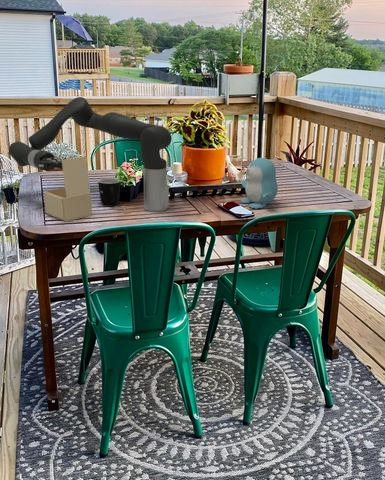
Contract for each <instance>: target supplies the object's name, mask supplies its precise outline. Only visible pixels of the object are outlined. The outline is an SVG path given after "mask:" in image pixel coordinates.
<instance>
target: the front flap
mask: <svg viewBox="0 0 385 480" xmlns="http://www.w3.org/2000/svg"><path fill="white" fill-rule="evenodd" d="M63 159H64V158H63ZM61 160H62V159H61ZM62 166H63V169H62V173H63V181H64V187H65V191H66V198H68V197H73V196H77V195H82V194H86V193H91V189H90V187H91V186H90V179H89V177H90V176H89V171H88V170H89V168H88V161H87V156H86V155H84V156H79V157H77V156H76V157H72V158H71V157H70V158H67V159H64V160H62Z"/></svg>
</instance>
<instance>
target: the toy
mask: <svg viewBox="0 0 385 480" xmlns="http://www.w3.org/2000/svg"><path fill="white" fill-rule="evenodd" d="M276 170H277V169H276V167H275V164H274V163H273V162H272V161H271V160H270V159H268V158H266V157H258V158H255V159H253V160H252V161H251V162H249V165H248V166H247V167H246V169H245V175H246V176H245V177H246V179H242V180H241V185H242V187H243V188H244V189H245V193H246V196H247V197H243V198H241V199H240V202H241V204H245V203H247V204H248V208H250V207H251V208H250V209H252V208H255V209H254V210H259V209H258V208H261V209H262V208H263V207H264V208H265V207H266V206H267V205H268V203H271V202H273V201H274V199H275V198H276V196H277V194H278V184H277V177H276V176H277V174H276V173H277V172H276Z"/></svg>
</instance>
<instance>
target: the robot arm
mask: <svg viewBox="0 0 385 480" xmlns="http://www.w3.org/2000/svg"><path fill="white" fill-rule="evenodd" d="M71 118H72V120H73V121H74V122H75V124H77V126H80V127H84V128H89V129H93V130H97V131H100V132H103V133H106V134H109V135H111V136H114V137H117V138H120V139H128V140H139V141H140V155H141V161H142V164H143V205H144V206H143V209H144V210H145V211H148V212H164V211H165V210H167V209H169V205H170V204H169V202H170V200H169V192H170V191H169V189H170V188H169V187H170V186H169V185H167V184H168V183H167V182H168V181H167V178H168V176H167V174H168V173H167V171H168V170H167V169H168V168H167V166H168V164H167V160H166V159H165V158H162V157H161V151H160V150H164V149H166V148H168V147H169V146H170V145H171V143H172V140H173V139H172V135H171V132H170V130H169V129H167V128H166V127H164V126H163V125H159V124H158V125H157V124H152V123H147V122H143V121H142V120H141V121H140V120H139V119H135V118H132V117H130V116H127V115H124V114H121V113H118V112H112V111H111V112H108V113H105V114H104V115H103V114H99V113H97V112H95V111H94V110H93V108H92V107H91V105H90V104H89V101H87V99H86V98H85V97H82V96H77V97H75V98H73V99H71V100H70V101H69V102H68V103H67V104H66V105H64V107H62V109H61V110H59V112H58V113H56V114H55V115H54V117H53V118H52V119H51V120H50V121H48V123H47V124H45V125H44V126H42V127H41V128H40V129H38V130H37V131H35V132H34V133H33V134H31V135H30V136H29V137H28V142H29V145H30V146H29V145H28V144H26V143H24V142H22V141H14V142H12V143H10V144H9V146H8V150H7V151H8V154H9V155H10V156H11V158H13V160H14V161H15V162H16V163H17V165H18V166H19V167H26V166H31V167H33V168H35V169H38V170H40V171H41V170H42V171H44V172H48V171H52V170H59V169H60V170H63V166H62V160H64V159H68V158H67V157H63V158H62V159H60V158H58V157H56V156H55V155H54V154H53V152H50V151H46V150H43V149H45V148H46V147H47V146H49V145H50V144H52V142H54V141H55V139H56V138H57V136H58V135H59V133H60V131H61V129H62V128H63V125H64V124H65V123H66V122H67V121H68V120H69V119H71Z"/></svg>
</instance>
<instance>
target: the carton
mask: <svg viewBox="0 0 385 480" xmlns="http://www.w3.org/2000/svg"><path fill="white" fill-rule="evenodd" d="M43 196H44V208H45V209H44V210H45V214H46V215H49V216H51V217H54V218H56V219H58V220H61V221H63V222H70V221H73V220H78V219H81V218H82V219H83V218H85V217H89V216H92V215H93V210H92V209H93V207H92V205H93V204H92V193H91V192H90V193H86V194H82V195H77V196H73V197H68V198H66V191H65V186H64V187H63V186H62V187H58V188H52V189H48V190H45V191H43Z"/></svg>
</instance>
